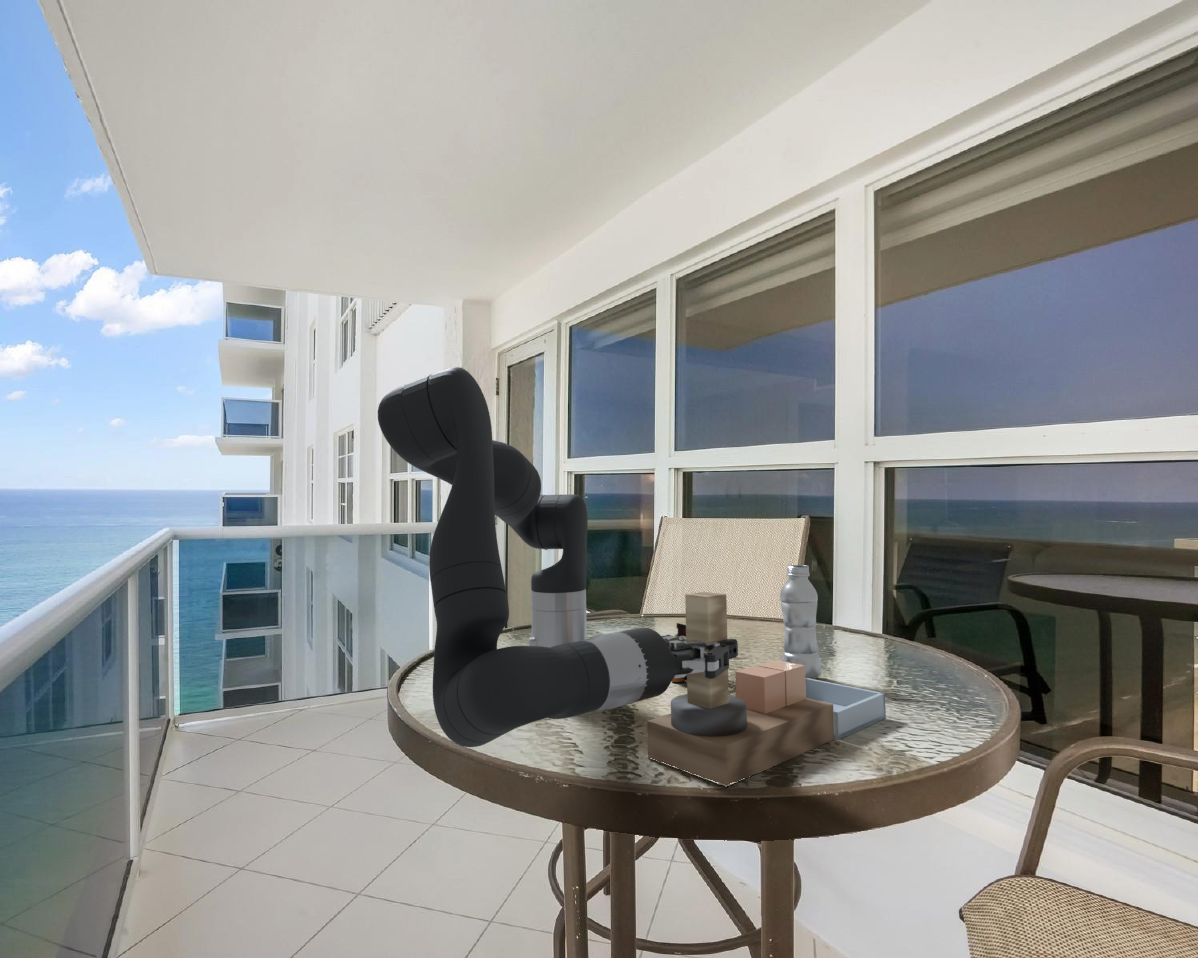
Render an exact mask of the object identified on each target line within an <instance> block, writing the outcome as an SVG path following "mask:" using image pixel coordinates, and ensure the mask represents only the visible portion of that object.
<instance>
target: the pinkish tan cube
mask: <svg viewBox="0 0 1198 958" xmlns="http://www.w3.org/2000/svg"><path fill="white" fill-rule="evenodd" d="M734 673H735V674H734V675H735V677H734V678H735V694H736V697H737V698H740V699H742V700H744V701H745V702H746V706H747V709H749V710H753V711H757V712H761V713H765V714H766V713H768V712H771V711H774V710H777V709H780V708H782V707H785V706H786V702H785V671H780V670H775V669H770V668H765V667H760V666H757V665H753V666H750V667H746V668H743V669H739V670H735V672H734Z"/></svg>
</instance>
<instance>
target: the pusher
mask: <svg viewBox="0 0 1198 958" xmlns="http://www.w3.org/2000/svg"><path fill="white" fill-rule="evenodd" d="M684 600H685V601H684V602H685V603H684V604H685V625H686V641H692V640H699V641H703V642H705V643H710V642H713V641H716V642H717V641H722V640H726V639H728V613H727V612H728V607H727V594H726V593H719V592H718V593H717V592H709V591H701V592H700V591H699V592H692V593H685V595H684ZM693 649H694V647H693ZM706 651H707V652H709V651H710V649H707V650H706ZM686 685H687V686H686V689H687V690H686V691H687V693H685V694H681V695H678V696H676V697H674V698H673V697H672V699H671V700H670V714H671V725H672V726H673V727H674V728H675V729H676V730H678V731H681V732H684V733H687V734H691V735H697V736H709V737H718V736H729V735H734V734H738V733H740V732H742V731H744V730H745V729H746V728H747V706H746V702H745V701H744V700H742V699H740V698H737V697H734V696H730V693H729V692H730V691H729V689H730V688H729V668H728V669H727V670H726V671H724V672H723V673H721V674H720V675H719V676H717V677H716V678H713V679H709V678H706V677H705V674H704V672H699V673H692V674H687V681H686Z"/></svg>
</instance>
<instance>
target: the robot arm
mask: <svg viewBox="0 0 1198 958" xmlns="http://www.w3.org/2000/svg"><path fill="white" fill-rule="evenodd" d="M377 421H378V425H379V428H380V430H381V432H382V435H383V437H384V438H385V440H386V442H387V443H388V445H389V446H390V447H391V449H392V450H393V451H394V452H395V453H396V454H397V455H398V456H399V457H400V458H401V459H402V460H404V461H405V462H407V463H408V464H409V465H412V467H414V468H416V469H418V470H421V471H422V472H423V473H426V474H428V475H431V476H433V477H435V478H437V479H440V480H441V481H444V482H446V483H448V484H449V485H451V488H450V491H449V493H448V497H447V499H446V502H445V504H444V507H443V509H442V511H441V513H440V517H439V519H438V522H437V525H436V527H435V529H434V532H433V535H432V539H431V542H430V543H431V544H430V547H429V548H430V549H429V556H428V557H429V558H428V565H429V566H428V567H429V568H428V569H429V571H428V572H429V578H430V579H429V580H430V581H429V582H430V586H431V587H430V588H431V594H432V601H433V602H432V603H433V611H434V615H435V621H436V635H435V641H434V649H433V651H434V652H433V653H434V654H433V672H432V701H433V703H432V704H433V708H434V712H435V713H434V714H435V716H436V720H437V721H438V724H439V726H440V728H441V730H442V732H443V733H444V734H445V736H446V737H447V738H448V739H449V741H452V742H453V743H455V744H456V745H458V746H461V747H463V748H464V747H465V748H477V747H481V746H484V745H486V744H489V743H490V742H492V741H494V740H496V739H498V738H500V737H502V736H504V735H505V734H508V733H509V732H512V731H513V730H515V729H518V728H520V727H524V726H526V725H530V724H531V723H534V722H538V721H541V720H545V719H547V718H548V719H552V720H563V719H569V718H572V717H577V716H581V715H583V714H588V713H591V712H595V711H602V710H612V709H616V708H619V707H623V706H627V705H631V704H634V703H638V702H642V701H644V700H648V699H651V698H655V697H658V696H661V695H663V694H664V693H665V692H666V691H667V690H668V688H669V687H670V685H671V683H672V680H673V678H681V677H685V676H686V675H687V674H692V673H699V672H704V674H705V677H706V678H709V679H713V678H716V677H717V676H719V675H720V674H721V673H723V672H724V671H726V670H727V669H728V670H729V669H730V660H732V659H735V658H737V657H738V655H739V645H738V640H737V638H736V639H735V638H727V639H726V640H722V641H717V642H716V641H713V642H710V643H705V642H703V641H699V640H692V641H686V637H685V636H680V637H676V636H675V635H671V634H665V635H661V634H660V633H659V632H657V631H656V630H654V629H652V628H649V627H638V628H634V629H633V628H631V629H627V630H621V631H616V632H615V631H614V632H609V633H605V634H599V635H595V636H592V637H590V638H587V637H588V636H587V634H588V633H587V629H588V627H587V584H586V583H587V565H588V564H587V552H588V551H587V549H588V547H587V546H588V527H589V525H588V522H589V521H588V509H587V504H586V502H585V500H584V499H583V497H582V496H581V495H579V494H541V493H542V480H541V477H540V474H539V472H538V470H537V469H536V467H535V466H534V465H533V463H532V462H531V461H530V460H529V459H528V458H527V457H526V456H525V455H524V454H523V453H522V452H521V451H520V450H518V449H517V448H516V447H514V446H513V445H511V444H508V443H505V442H502V441H498V440H494V439H493V429H492V427H493V426H492V421H491V414H490V411H489V406H488V402H487V400H486V396H485V395H484V393H483V391H482V388H481V387H480V385H479V384H478V382H477V381H476V379H475V378H474V376H473V375H472V374H471V373H470V372H469V371H467V370H466V369H465V368H463V367H458V366H452V367H449V368H446V369H442V370H439V371H436V372H433V373H432V374H431V373H430V374H429V375H425V376H424V377H421V378H418V379H416V380H414V381H411V382H409V383H406V384H404V385H401V386H399V387H397V388H395V389H393V390H392V391H390V392H388V393H387V394H386V395H384V396H383V397H382V399H381V401H380V403H378V407H377ZM496 517H498V518H499V519H500V520H501V521H503V522H504V523H505V524H506V525H508V526H509V527H510V528H511V529H512V530H513V532H515V533H516V534H517V535H518V537H519V538H520V539H521V540H522V541H523V542H524V543H525V544H526V545H528V546H529V547H531V548H533V549H536V550H537V549H538V550H562V555H561V557H560V559H559V560H558V561H557V562H555V564H552V565H551V566H549V567H546V568H544V569H540V570H539V571H535V572H534V573H533V574H532V575H531V580H530V591H531V593H530V594H531V595H530V598H531V599H530V601H531V602H530V604H531V637H530V638H529V639H528V641H529V642H528V644H529V645H513V646H511V645H510V646H506V647H505V646H504V647H500V648H498V640H499V637H500V635H501V633H502V631H503V630H504V629H505V627H506V625H507V623H508V621H509V617H510V607H509V600H508V595H507V588H506V584H505V578H504V573H503V567H502V562H501V557H500V551H499V545H498V544H499V543H498V537H497V527H496ZM693 647H694V649H693ZM707 649H710V651H709V652H707V651H706V650H707Z"/></svg>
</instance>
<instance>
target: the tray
mask: <svg viewBox="0 0 1198 958" xmlns="http://www.w3.org/2000/svg"><path fill="white" fill-rule="evenodd" d="M805 684H806V698H808V699H812V700H817V701H821V702H826V703H830V704H833V712H834V740H842V739H843V738H846V737H848V736H850V735H852V734H854V733H857V732H860V730H863V729H866V728H868V727H870V726H873V725H874V724H877V723H878V722H881V721H883V720H885V719H886V718H887V715H886V711H887V710H886V709H887V708H886V693H884V692H879V691H874V690H870V689H864V688H860V687H855V686H850V685H849V686H848V685H844V684H838V683H833V682H829V681H824V680H819V679H816V678H814V679H810V678H805Z"/></svg>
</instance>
